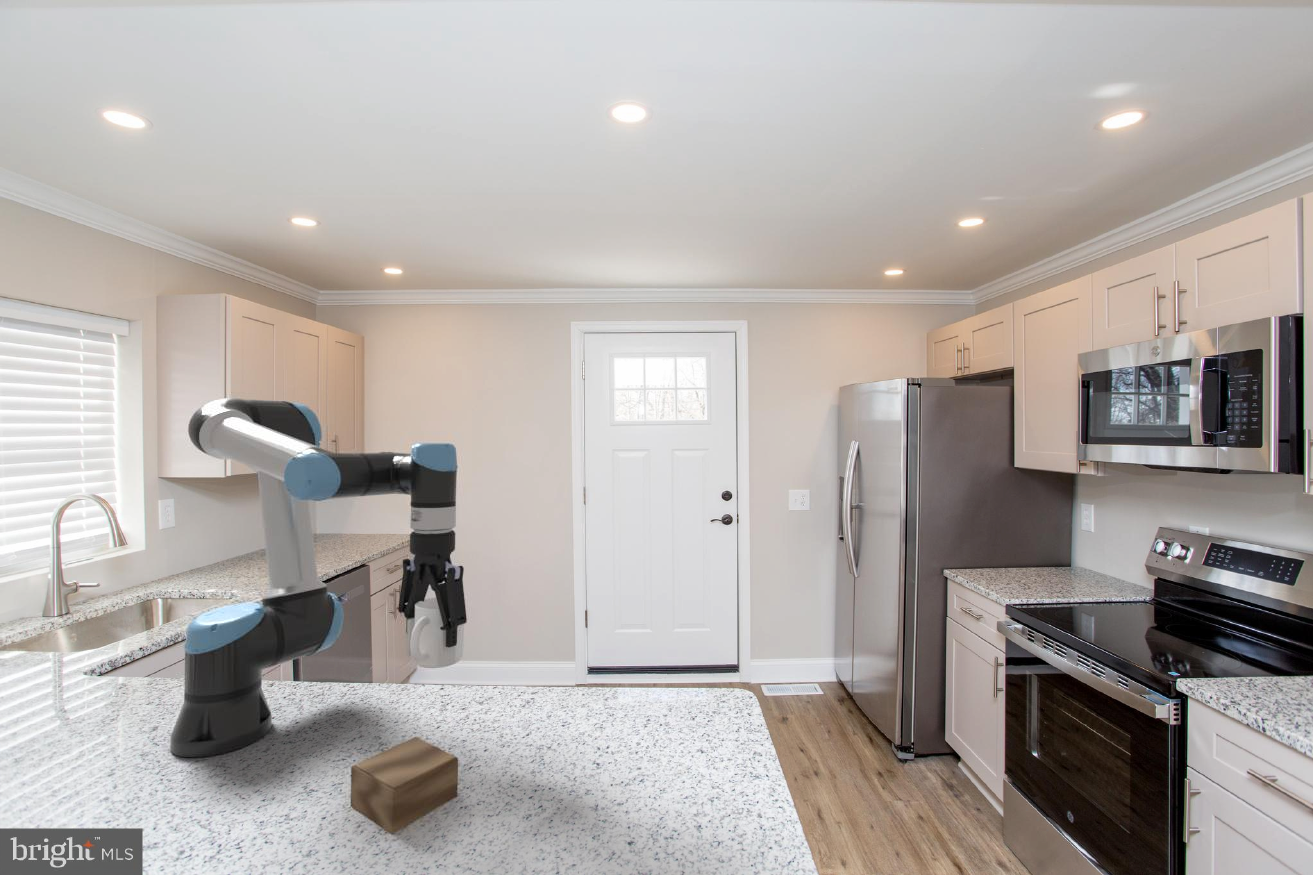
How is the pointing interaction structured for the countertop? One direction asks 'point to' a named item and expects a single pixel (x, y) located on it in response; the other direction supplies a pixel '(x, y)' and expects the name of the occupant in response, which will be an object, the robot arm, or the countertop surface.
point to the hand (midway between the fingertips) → (430, 658)
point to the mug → (431, 635)
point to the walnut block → (403, 783)
